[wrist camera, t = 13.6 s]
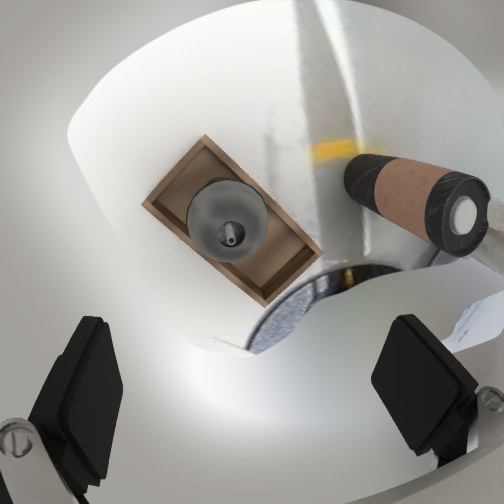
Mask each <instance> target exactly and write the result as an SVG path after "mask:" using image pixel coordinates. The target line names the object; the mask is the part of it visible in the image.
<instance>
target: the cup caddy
mask: <svg viewBox="0 0 504 504" xmlns="http://www.w3.org/2000/svg"><path fill="white" fill-rule="evenodd" d="M218 177H225V178H229V179H234V180H241V181H243V182H245V183H247V184H249V185H251V186H253V187H254V188H255V189H256V190H257V191H258V192H259V193H260V194H261V195H262V197H263V199H264V201H265V203H266V205H267V209H268V217H269V225H268V230H267V235H266V237H265V239H264V241H263V243H262V245H261V246H260V247H259V248H258V249H257V250H256V251H255V252H254V253H253V254H252V255H251V256H249V257H247V258H245V259H243V260H241V261H236V262H231V263H228V262H218V261H216V260H214V259H211V258H209V257H207V256H205V255H204V254H203V253H202V252H201V251H199V250H198V249H197V247H196V246H195V244H194V242H193V241H192V239H191V238H190V236H189V234H188V230H187V225H186V215H187V208H188V206H189V204H190V202H191V200H192V198H193V196H194V195H195V194H196V193H197V192H198V191H199V190H200V189H201V188H202V187H204V186H205V185H206V184H207V183H208V182H209V181H210V180H212V179H214V178H218ZM141 205H142V206H143V207H144V208H145V209H147V210H148V211H149V212H150V213H151V214H152V215H153V216H155V217H156V218H157V219H158V220H159V221H160V222H162V223H163V224H164V225H165V226H166V227H167V228H169V229H170V230H171V231H172V232H173V233H174V234H176V235H177V236H178V237H179V238H180V239H181V240H183V241H184V242H185V243H186V244H187V245H189V246H190V247H191V248H192V249H193V250H194V251H196V252H197V253H198V254H199V255H200V256H202V257H203V258H204V259H205V260H206V261H208V262H209V263H210V264H211V265H212V266H214V267H215V268H216V269H217V270H218V271H220V272H221V273H222V274H223V275H225V276H226V277H227V278H228V279H229V280H231V281H232V282H233V283H234V284H236V285H237V286H238V287H239V288H240V289H242V290H243V291H244V292H245V293H247V294H248V295H249V296H250V297H252V298H253V299H254V300H255V301H257V302H258V303H259V304H260V305H262V306H263V307H264V308H265V307H266V306H267V305H268V304H270V303H271V302H272V301H273V300H274V299H275V298H276V297H277V296H278V295H279V294H280V293H282V292H283V291H284V290H285V289H286V288H287V287H288V286H289V285H290V284H291V283H292V282H293V281H294V280H296V279H297V278H298V277H299V276H300V275H301V274H302V273H303V272H304V271H305V270H306V269H307V268H308V267H309V266H310V265H311V264H313V263H314V262H315V261H316V260H317V259H318V258H319V257H320V256H321V255H322V254H323V253H324V252H323V251H322V250H321V249H320V248H319V247H318V246H317V245H316V244H315V243H314V241H313V240H312V239H311V238H310V237H309V236H308V235H307V234H306V233H305V232H304V231H303V230H302V229H301V228H300V227H299V226H298V225H297V224H296V223H295V222H294V221H293V220H292V219H291V218H290V217H289V215H288V214H287V213H286V212H285V211H284V210H283V209H282V208H281V207H280V206H279V205H278V204H277V203H276V202H275V201H274V200H273V199H272V198H271V197H270V196H269V195H268V194H267V193H266V192H265V191H264V190H263V189H262V188H261V187H260V186H259V185H258V184H257V183H256V182H255V181H254V180H253V179H252V178H251V177H250V176H249V175H248V174H246V173H245V172H244V171H243V170H242V169H241V168H240V167H239V166H238V165H237V164H236V163H235V162H234V161H233V160H232V159H231V158H230V157H229V156H228V155H227V154H226V153H225V152H224V151H223V150H221V149H220V148H219V147H218V146H217V145H216V144H215V143H214V142H213V141H212V140H211V139H210V138H209V137H208V136H207V135H204V136H203V137H202V138H201V139H200V140H199V141H198V142H197V143H196V144H195V145H194V146H193V147H192V148H191V149H190V150H189V152H188V153H187V154H186V155H185V156H184V157H183V158H182V159H181V160H180V161H179V162H178V163H177V164H176V165H175V167H174V168H173V169H172V170H171V171H170V172H169V173H168V174H167V175H166V177H165V178H164V179H163V180H162V181H161V182H160V183H159V184H158V186H157V187H156V188H155V189H154V190H153V191H152V193H151V194H150V195H149V196H148V197H147V198H146V200H145V201H144V202H143V203H142V204H141Z"/></svg>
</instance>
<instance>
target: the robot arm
mask: <svg viewBox="0 0 504 504" xmlns="http://www.w3.org/2000/svg"><path fill="white" fill-rule="evenodd" d="M487 219H488V222H489V227H488V230H487V233H486V235H485V237H484V239H483V241H482V242H481V244H480V245H479V246H478V248H477V249H476V250H475V251H473V252H472V253H471V254H469V255H467V256H465V257H462V258H463V259H468V258H469V257H470V256H471V257H473V258H475V259H476V260H478V261H479V262H481V263H483V264H484V265H486V266H488V267H489V268H491V269H492V270H494V271H495V272H497V273H499V274H500V275H502V276H503V277H504V202H502V201H499V200H497V199H494V198H491V200H490V201H489V203H488V209H487ZM371 382H372V385H373V387H374V388H375V390H376V391H377V393H378V395H379V397H380V398H381V400H382V402H383V403H384V405H385V407H386V408H387V410H388V412H389V414H390V415H391V417H392V419H393V420H394V422H395V423H396V425H397V427H398V429H399V431H400V432H401V434H402V436H403V438H404V439H405V441H406V443H407V445H408V446H409V448H410V449H411V450H414V452H415V454H416V455H417V456H420V455H422V454H425V453H427V452H429V451H430V449H431V448H432V449H433V451H434V453H433V458H432V463H431V468H430V472H429V473H428V474H426V475H423V476H421V477H419V478H416V479H414V480H412V481H409V482H407V483H404V484H402V485H399V486H397V487H394V488H392V489H389V490H386V491H383V492H380V493H377V494H375V495H372V496H368V497H366V498H362V499H359V500H356V501H352V502H349V503H345V504H504V394H503V393H502V392H501V391H500V390H498V389H497V388H494V387H490V386H486V387H482V388H481V389H480V390H479V392H478V393H477V394H475V392H474V391H475V389H476V388H477V386H478V385H479V384H478V383H477V381H476V380H475V379H474V378H473V377H472V376H471V375H470V373H469V372H468V371H467V370H466V369H465V368H464V367H463V365H462V364H461V363H460V362H459V361H458V360H457V359H456V358H455V357H454V356H453V355H452V353H451V352H450V351H449V350H448V349H447V348H446V347H445V346H444V345H443V344H442V343H441V342H440V341H439V340H438V339H437V338H436V336H434V334H433V333H432V332H431V331H430V330H429V329H428V328H427V327H426V326H425V325H424V324H423V323H422V322H421V321H420V320H419V319H418V318H417V317H416V316H415V315H413V314H407V315H400V316H398V317H397V318H396V320H394V321H393V323H392V325H391V328H390V331H389V333H388V336H387V339H386V341H385V344H384V346H383V349H382V351H381V354H380V356H379V359H378V361H377V364H376V366H375V368H374V371H373V373H372V376H371ZM122 395H123V384H122V380H121V376H120V372H119V369H118V364H117V360H116V356H115V352H114V348H113V343H112V338H111V333H110V328H109V325H108V323H107V322H103V319H102V318H101V317H93V316H84V317H83V318H82V319H81V321H80V323H79V324H78V326H77V328H76V330H75V332H74V333H73V335H72V337H71V339H70V341H69V343H68V345H67V347H66V348H65V350H64V352H63V354H62V355H60V356H58V358H57V360H56V361H55V363H54V365H53V367H52V369H51V371H50V373H49V375H48V377H47V379H46V381H45V383H44V385H43V387H42V389H41V391H40V393H39V396H38V398H37V400H36V402H35V404H34V406H33V409H32V411H31V413H30V416H29V418H28V420H25V419H22V418H10V419H7V420H5V421H3V422H2V423H1V424H0V504H92V503H91V502H90V501H89V499H88V497H87V496H86V494H85V493H86V492H87V488H88V485H93V486H98V487H99V486H100V480H101V479H105V478H106V475H107V470H108V464H109V458H110V452H111V447H112V441H113V436H114V431H115V427H116V421H117V417H118V413H119V408H120V404H121V399H122Z"/></svg>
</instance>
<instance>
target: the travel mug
mask: <svg viewBox="0 0 504 504" xmlns="http://www.w3.org/2000/svg"><path fill="white" fill-rule="evenodd" d="M344 182H345V187H346V190H347V192H348V194H349V195H350V196H351V197H352V198H353V199H354V200H355V201H357V202H359V203H360V204H362V205H364V206H365V207H367V208H369V209H370V210H372V211H374V212H375V213H377V214H379V215H380V216H382V217H384V218H386V219H387V220H389V221H391V222H393V223H395V224H397V225H398V226H400V227H402V228H404V229H406V230H408V231H410V232H411V233H413V234H415V235H417V236H419V237H420V238H422V239H424V240H426V241H427V242H429V243H431V244H433V245H434V246H436V247H438V248H440V249H441V250H443V251H445V252H446V253H448V254H450V255H452V256H454V257H465V256H467V255H469V254H471V253H472V252H473V251H475V250H476V249H477V248H478V246H479V245H480V244H481V242H482V241H483V239H484V237H485V235H486V233H487V230H488V227H489V222H488V219H487V209H488V203H489V201H490V200H491V196H490V193H489V190H488V188H487V186H486V185H485V184H484V182H483V181H482V180H480V179H479V178H477V177H474V176H471V175H468V174H464V173H461V172H457V171H454V170H450V169H446V168H442V167H439V166H435V165H431V164H427V163H422V162H418V161H414V160H409V159H404V158H397V157H390V156H382V155H374V154H362V155H359V156H357V157H355V158H354V159H353V160H352V161H351V162H350V163H349V165H348V166H347V169H346V171H345V177H344Z"/></svg>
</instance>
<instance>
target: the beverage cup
mask: <svg viewBox="0 0 504 504" xmlns="http://www.w3.org/2000/svg"><path fill="white" fill-rule="evenodd" d="M186 225H187V230H188V234H189V236H190V238H191V239H192V241H193V242H194V244H195V246H196V247H197V249H198V250H199V251H201V252H202V253H203V254H204V255H205V256H207V257H209V258H211V259H214V260H216V261H218V262H228V263H231V262H236V261H241V260H243V259H245V258H247V257H249V256H251V255H252V254H253V253H254V252H255V251H256V250H257V249H258V248H259V247H260V246H261V245H262V243H263V241H264V239H265V237H266V235H267V230H268V225H269V217H268V209H267V205H266V203H265V201H264V199H263V197H262V195H261V194H260V193H259V192H258V191H257V190H256V189H255V188H254V187H253V186H251V185H249V184H247V183H245V182H243V181H241V180H234V179H229V178H225V177H218V178H214V179H212V180H210V181H209V182H208V183H207V184H206V185H205V186H204V187H202V188H201V189H200V190H199V191H198V192H197V193H196V194H195V195H194V196H193V198H192V200H191V202H190V204H189V206H188V208H187V215H186Z"/></svg>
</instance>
